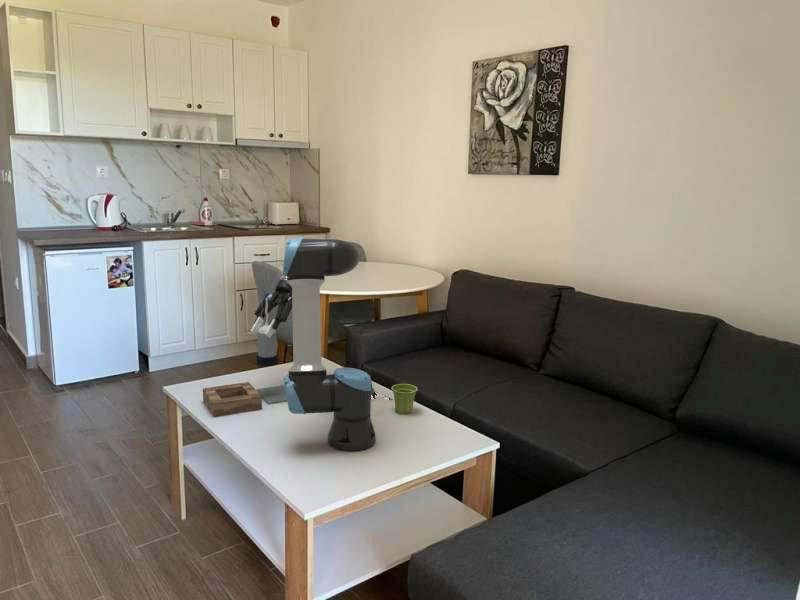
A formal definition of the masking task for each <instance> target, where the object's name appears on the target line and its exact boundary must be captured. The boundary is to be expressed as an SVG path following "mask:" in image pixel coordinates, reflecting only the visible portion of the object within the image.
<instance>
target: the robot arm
mask: <svg viewBox="0 0 800 600" xmlns="http://www.w3.org/2000/svg"><path fill="white" fill-rule="evenodd" d="M284 250H285V251H284V257H283V265H282V273H281V277H280V279H279V281H278V282H277V284H276V286H275V290H274V292H273V293H271V294H269V293H266V294H264V298H263V299H262V300H261V303H260V304H259V305H258V307H257V309H256V310H255V312H254V315H255V316H256V318H255V320H254V322H253V325H252V327H251V329H250V332H251V333H252V334H253V336H256V335H258V330H259V329H260V328H261V327H262V326H263V325H262V322H263V323H264V322H265V320H264V319H265V318H266V314H265V309H266V298H268V310H267V312H268V314H269V313H271V311H272V310H273V309H274V308H276V307H277V306H278V307H277V311H276V316H275V317H274V318H273V319H272V320H271V322H270V324H269V325H270V326H269V328H268V329H267V331H266V333H265V334H266V335H267V336H268V337H269V338H271V336H272V334H273V332H274V330H275V331H277V329H278V327H279V326H280V324H281V323H282V322H283V323H286V322H287V320H288V319H289V316H290V313H291V311H292V347H293V349H292V351H293V352H292V353H293V354H292V355H293V358H292V359H293V364H292V366H291V367H290V368H289V369H288V375H286V376H284V377H283V381H284V385H285V390H286V396H287V402H286V403H287V406H288V407H287V409H288V411H289V412H290V413H291V414H293V415H298V414H299V415H306V414H307V415H308V414H320V413H323V414H325V413H333V418H332V422H331V425H330V427H329V430H328V433H327V444H328V445H329V446H330V447H331V448H333V449H335V450H339V451H343V452H344V451H346V452H358V451H364V450H367V449H369V448H371V447H372V446H374V445H375V444H376V435H377V434H376V431H375V428H374V425H373V422H372V419H371V418H372V417H371V412H372V411H371V410H372V409H371V408H372V407H371V406H372V404H371V403H372V400H371V390H372V388H371V382H372V377H371V378H370V376H369V373H367V371H364V370H362V369H359V368H355V367H354V368H353V367H340V368H339V367H338V368H335V369H334V371H332V372H333V374H327V372H328V371H327V368H326V367H325V366H324V364H323V363H322V337H321V336H322V330H321V325H322V324H321V286H322V285H324V283H325V282H326V281H325V279H326V278H325V277H335V276H336V277H337V276H342V275H344V274H347V273H349V272H350V273H351V272H352V271H353V270H354V269H355V268H357V266H358V265H359V263H360V258H361V255H360V252H359V249H358V248H357V246H356V245H355V244H353V243H351V242H349V241H346V240H341V239H336V238H335V239H333V238H332V239H331V238H330V239H328V238H327V239H326V238H321V239H320V238H306V237H302V236H301V237H297V238H294V239H293V238H291V239H288V241H286V243H285V248H284ZM262 309H263V311H262ZM261 313H262V315H261Z"/></svg>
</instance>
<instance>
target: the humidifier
mask: <svg viewBox="0 0 800 600" xmlns="http://www.w3.org/2000/svg"><path fill="white" fill-rule="evenodd" d="M267 310H268V298H266V309H265V314H266V316H265V321H263V322H262V325H261V327H260V328H259V330H258V332H257V355H256V359H255V361H256V363H255V364H256V365H257V366H259V367H274V366H276V365H278V364H279V362H280V359H279V354H277V330H274V332H273V334H272V336H271V338H269V337H268V336H267V335H266V334H265V333H266V331H267V329H268V328H269V326H270V324H269V313H268V312H267ZM262 311H263V309H262ZM261 316H262V313H261ZM264 322H265V323H264Z"/></svg>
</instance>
